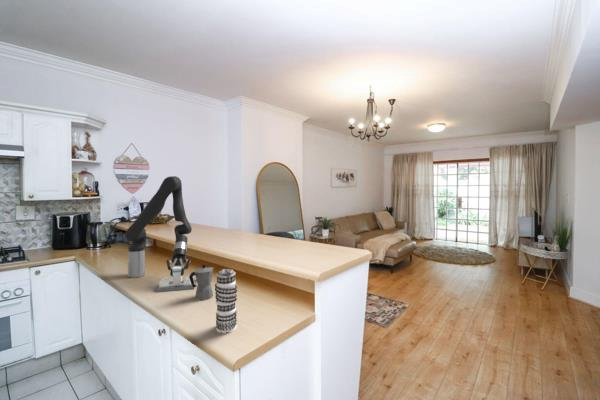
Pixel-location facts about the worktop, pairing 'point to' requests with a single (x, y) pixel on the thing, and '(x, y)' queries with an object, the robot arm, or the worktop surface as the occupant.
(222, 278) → the black and white cylinder
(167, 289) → the rail panel
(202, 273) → the coffeepot
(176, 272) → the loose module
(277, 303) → the worktop surface
